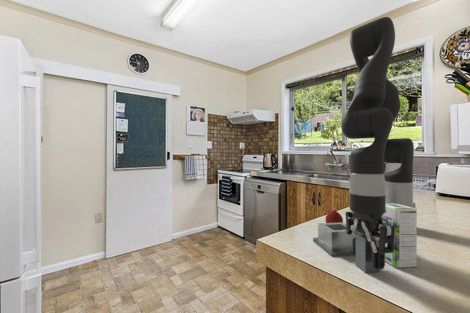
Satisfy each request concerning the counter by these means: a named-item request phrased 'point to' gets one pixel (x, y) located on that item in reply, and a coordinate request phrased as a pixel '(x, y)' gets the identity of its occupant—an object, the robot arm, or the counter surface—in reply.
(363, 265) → the grey rectangular block
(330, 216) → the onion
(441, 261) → the counter surface
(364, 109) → the robot arm
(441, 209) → the counter surface
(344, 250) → the bracket stand
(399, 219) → the syrup box
